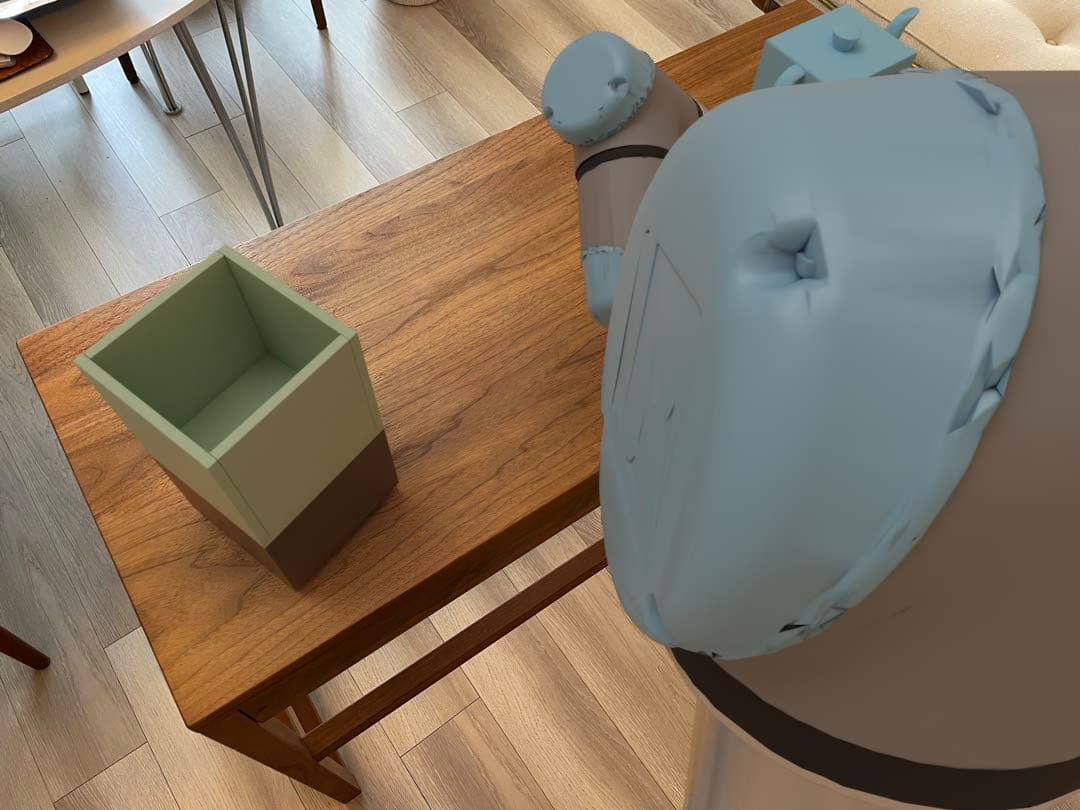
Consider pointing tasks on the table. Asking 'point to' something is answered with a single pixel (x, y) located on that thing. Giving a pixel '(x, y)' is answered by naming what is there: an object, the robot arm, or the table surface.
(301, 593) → the table surface
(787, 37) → the teapot
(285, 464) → the waste bin
